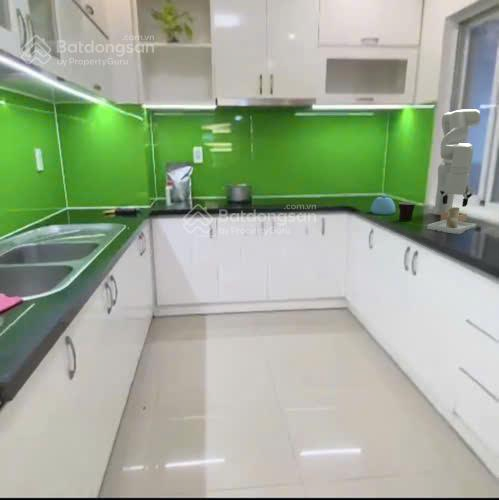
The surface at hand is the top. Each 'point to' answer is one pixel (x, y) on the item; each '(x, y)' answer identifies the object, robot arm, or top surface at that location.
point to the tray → (460, 228)
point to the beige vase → (452, 217)
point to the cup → (460, 218)
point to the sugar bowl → (383, 206)
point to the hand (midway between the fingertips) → (454, 205)
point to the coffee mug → (406, 211)
